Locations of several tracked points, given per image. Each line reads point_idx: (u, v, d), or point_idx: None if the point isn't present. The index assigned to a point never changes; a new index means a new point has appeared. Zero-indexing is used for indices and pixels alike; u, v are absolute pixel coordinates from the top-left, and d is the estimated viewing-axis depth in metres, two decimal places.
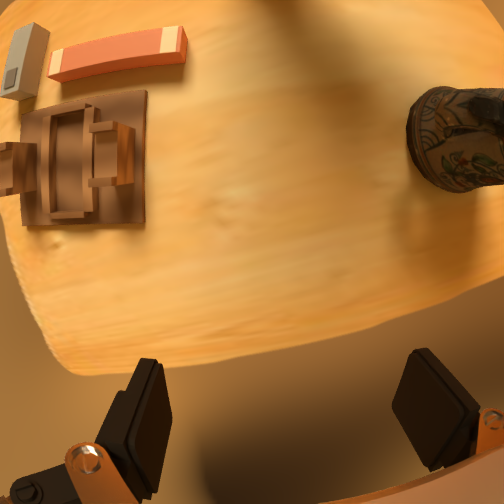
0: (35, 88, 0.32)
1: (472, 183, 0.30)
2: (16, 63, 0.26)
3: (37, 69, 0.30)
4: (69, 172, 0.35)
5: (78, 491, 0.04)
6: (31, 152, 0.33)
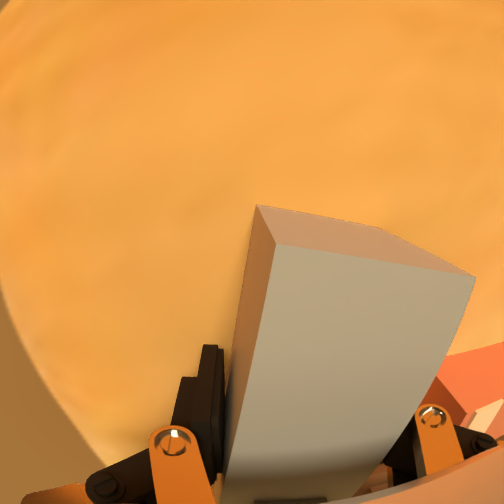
0: None
1: None
2: (317, 486, 0.07)
3: None
4: None
5: (153, 470, 0.05)
6: None
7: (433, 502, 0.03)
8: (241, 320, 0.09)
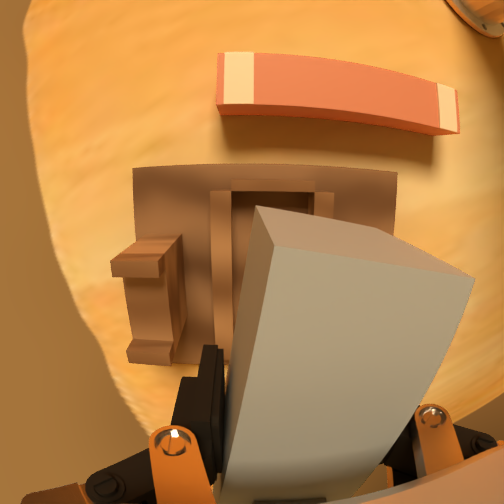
0: None
1: None
2: (316, 487, 0.07)
3: None
4: None
5: (154, 470, 0.05)
6: (179, 255, 0.23)
7: (433, 502, 0.03)
8: (240, 321, 0.09)
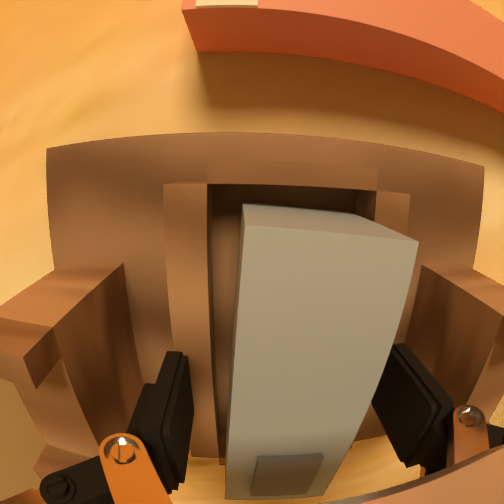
0: None
1: None
2: (311, 439, 0.09)
3: None
4: None
5: (108, 480, 0.04)
6: (116, 305, 0.11)
7: (433, 502, 0.03)
8: None
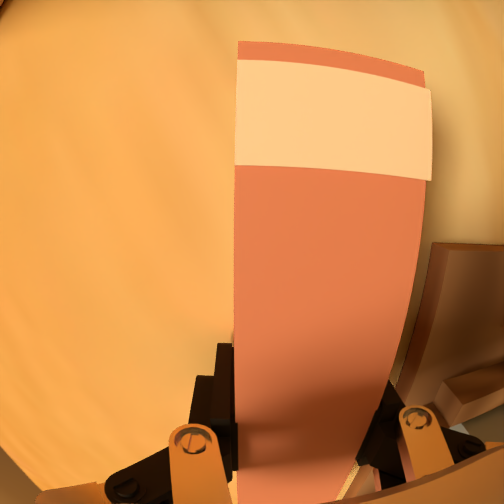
0: None
1: None
2: None
3: None
4: None
5: (172, 468, 0.05)
6: None
7: (433, 502, 0.03)
8: None
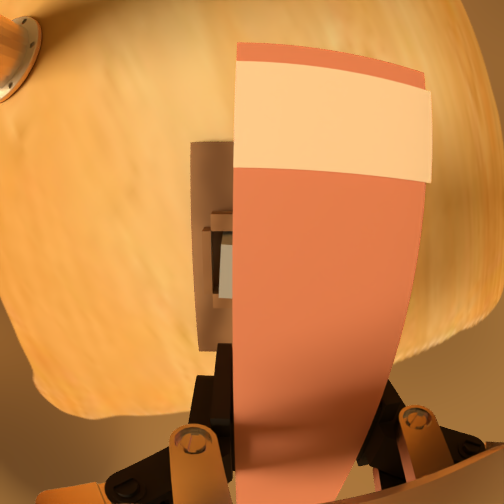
0: None
1: None
2: None
3: None
4: None
5: (172, 467, 0.05)
6: None
7: (433, 502, 0.03)
8: None
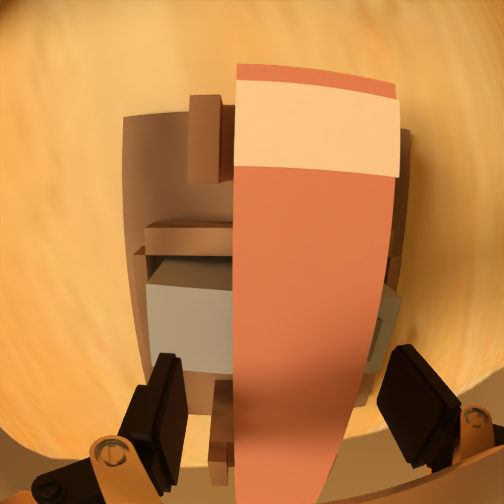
0: None
1: None
2: None
3: None
4: None
5: (100, 483, 0.04)
6: None
7: (433, 502, 0.03)
8: None
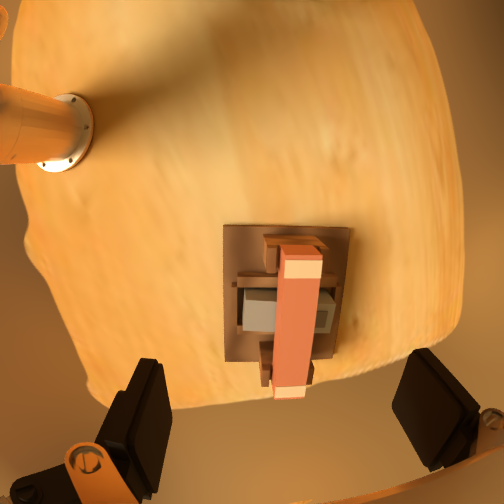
0: (320, 290, 0.43)
1: None
2: None
3: None
4: None
5: (78, 491, 0.04)
6: (268, 346, 0.44)
7: (433, 502, 0.03)
8: None
